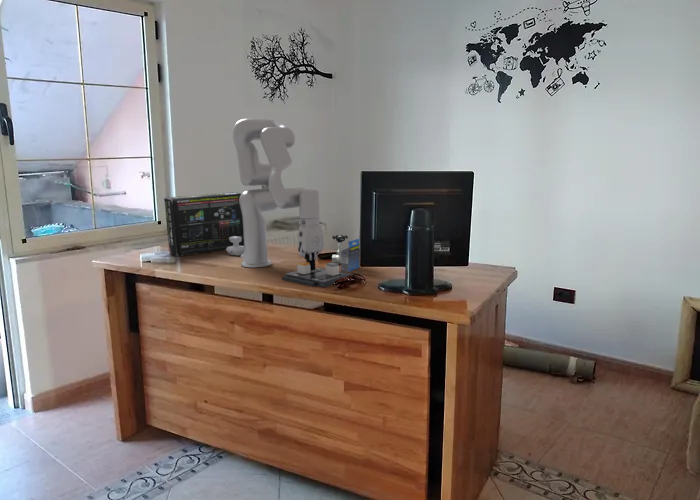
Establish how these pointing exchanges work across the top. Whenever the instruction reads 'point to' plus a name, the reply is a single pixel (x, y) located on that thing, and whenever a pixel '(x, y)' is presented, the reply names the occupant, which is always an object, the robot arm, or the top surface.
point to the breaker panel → (317, 277)
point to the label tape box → (350, 257)
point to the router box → (203, 222)
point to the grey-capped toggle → (332, 269)
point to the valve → (338, 257)
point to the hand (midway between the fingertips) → (310, 269)
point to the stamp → (235, 246)
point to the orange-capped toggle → (303, 267)
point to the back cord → (339, 272)
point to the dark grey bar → (298, 281)
